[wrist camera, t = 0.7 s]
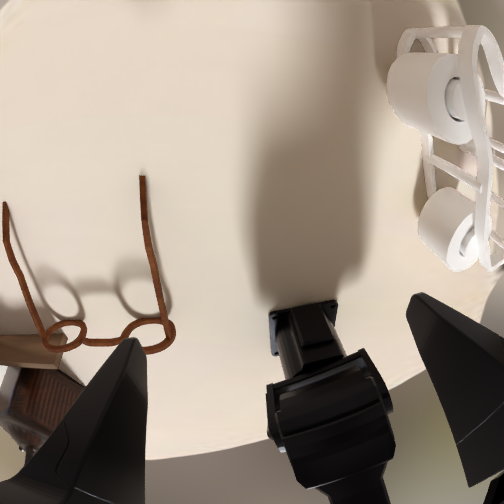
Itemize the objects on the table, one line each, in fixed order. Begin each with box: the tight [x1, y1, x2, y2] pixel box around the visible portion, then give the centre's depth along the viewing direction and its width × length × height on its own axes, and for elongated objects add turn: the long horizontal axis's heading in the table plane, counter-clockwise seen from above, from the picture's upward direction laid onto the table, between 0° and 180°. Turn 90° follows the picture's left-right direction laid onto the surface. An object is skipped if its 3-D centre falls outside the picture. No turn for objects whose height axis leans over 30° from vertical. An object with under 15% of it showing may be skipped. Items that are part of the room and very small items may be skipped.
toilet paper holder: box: [386, 25, 504, 272], centre depth 15 cm, size 20×11×7 cm, turn 27°
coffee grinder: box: [0, 366, 85, 466], centre depth 22 cm, size 16×11×18 cm
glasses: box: [2, 175, 176, 355], centre depth 18 cm, size 13×13×5 cm
